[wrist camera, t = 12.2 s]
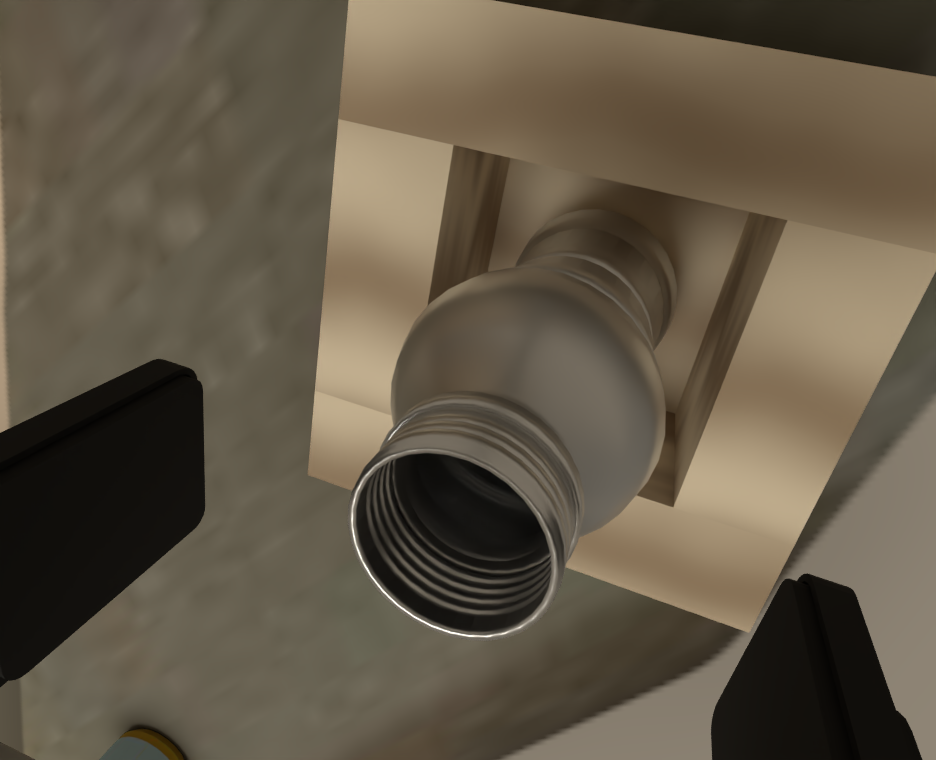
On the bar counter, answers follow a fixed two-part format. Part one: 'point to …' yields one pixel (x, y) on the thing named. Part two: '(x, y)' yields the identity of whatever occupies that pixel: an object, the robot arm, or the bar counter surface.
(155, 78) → the bar counter surface
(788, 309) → the well block
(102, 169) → the bar counter surface
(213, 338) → the bar counter surface
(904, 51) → the bar counter surface
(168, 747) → the bottle
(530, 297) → the plastic bottle
